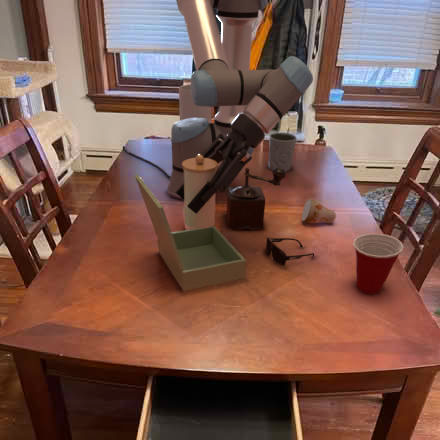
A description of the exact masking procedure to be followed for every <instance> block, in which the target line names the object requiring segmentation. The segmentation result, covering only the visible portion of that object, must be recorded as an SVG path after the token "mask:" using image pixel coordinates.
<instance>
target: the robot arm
mask: <svg viewBox="0 0 440 440" xmlns="http://www.w3.org/2000/svg"><path fill="white" fill-rule="evenodd" d="M267 1H268V0H175V2H176V6H177V9H178V11H179V13H180V15H182V16H183V19H184V24H185V27H186V31H187V36H188V41H189V45H190V49H191V52H192V58H193V62H194V67H195V71H193V72H192V74H191V78H190V85H191V93H192V100H193V102H194V104H195V105H197V106H208V107H211V108H214V107H219V109H218V110H219V111H218V112H217V113H216V114H215V115H214V119H213V121H214V122H211V123H209V122H208V120H207V119H205V118H198V117H195V118H187V119H183V120H180V119H179V120H177V121H176V122H174V123H173V125H172V126H171V130H170V131H171V133H170V135H171V136H170V142H171V160H172V161H171V166H172V167H171V168H172V170H171V174H169V173H168V172H167V171H165V169H163V168H162V167H160V166H159V165H158V164H156V163H154V162H152V161H150V160H148V159H146V158H144V157H142V156H140V155H137V154H135V153H133V152H130V151H129V150H127V148H126V145H123V146H122V149H123V150H124V152H125V153H127V155H128V154H129V155H130V156H132V157H135V158H137V159H139V160H141V161H143V162H145V163H148V164H150V165H151V166H152V167H153V166H154V167H155V168H156V169H158V170H159V171H160V172H162V173H163V174H164V175H165V176H166V177H167V178H168V179H169V182H168V184H167V194H168V195H169V196H170V197H172V198H173V199H176V200H180V201H184V169H183V168H182V162H183V161H185V160H187V159H191V158H196V156H197V155H202V156H203V157H204V158H208V159H212V160H215V161H216V162H217V163H218V164H219V166H218V168H217V169H216V173H215V175H214V177H213V178H212V180H211V182H209V181H207V183H206V185H205V186H204V187H203V188H202V189H201V190H200V191H199V193H198V194H197V195H196V196H195V197H194V198H193V200H192V201H191V202H190V203H189V204H188V205H187V207H188V208H189V209H191V210H192V211H193V212H194V213H196V214H197V213H198V212H199V210H200V209H201V208H202V207H203V206H204V205H205V204H206V202H208V201H209V199H210V198H211V197H212V196H213V195H214V194H215V193H216V194H217V193H219V192H220V193H222V194H224V193H225V192H226V191H227V190H228V187H231V184H232V183H233V182H234V181H235V179H236V178H237V177H238V176H239V174H240V172H241V171H242V170H243V169H244V167H245V166H246V165H247V164H248V163H250V161H252V160H253V156H252V154H253V153H254V150H255V149H257V148H258V146H259V145H260V144H261V143H262V142H263V141H264V139H266V135H268V134H270V132H271V131H272V129H274V128H275V127H276V125H277V124H278V123H279V121H281V120H282V119H283V117H284V116H285V115H286V114H287V113H288V112H289V110H290V109H292V108H293V106H294V105H295V104H296V103H297V102H298V101H299V99H300V98H301V97H302V96H303V95H305V94H306V91H307V90H308V89H309V88H310V86H311V85H312V83H313V81H314V76H313V73H312V71H311V69H309V67H308V65H306V63H304V62H303V61H302V60H301V59H300V58H298V57H297V56H294V55H290V56H288V57H287V58H286V59H285V60H284V61H283V62H282V63H280V65H279V66H278V68H277V69H270V68H269V69H250V66H251V54H252V53H251V52H252V51H251V50H252V35H253V24H254V23H255V22H256V21H257V20H258V19H259V11H262V10H264V9H265V7H266V5H267ZM214 10H216V14H215V11H214ZM216 19H218V20H219V21H220V22H221V34H220V30H219V26H218V22H217V20H216ZM265 134H266V135H265Z"/></svg>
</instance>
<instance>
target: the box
mask: <svg viewBox="0 0 440 440" xmlns="http://www.w3.org/2000/svg"><path fill="white" fill-rule="evenodd" d="M171 232H172V235H173V238H174V241H175V244H176V247H177V250H178V253H179V256H180V258H181V261H182V264H183V267H184V271H182V272H181V270H180V269H179V267H178V266H177V264H176V263H175V261H174V260H173V258H172V257H171V255H170V254H169V252H168V251H167V249H166V248H165V246H164V245H163V243H162V242H161V240H160V239H159V237H158V236H157V246H158V253H159V255H160V257H161V258H162V259H163V262H164V263H165V265H166V266H167V267H168V269H169V271H170V273H171V274H172V276H173V277H174V279H175V280H176V282H177V283H178V285H179V286H180V288H181V290H182V291H183V292H188V291H193V290H197V289H202V288H206V287H211V286H216V285H220V284H225V283H229V282H234V281H240V280H243V279H246V267H247V266H246V265H247V260H246V258H244V256H243V255H242V254H241V253H240V252H239V251H238V250H237V248H236V247H234V245H233V244H232V243H231V242H230V240H229V239H227V238H226V237H225V235H224V234H223V233H222V232H221V231H220V230H219V229H218V228H217V227H216V226H215V225H212V226H211V227H208V228H196V229H190V230H186V229H184V230H178V231H171Z"/></svg>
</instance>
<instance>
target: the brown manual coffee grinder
mask: <svg viewBox="0 0 440 440" xmlns="http://www.w3.org/2000/svg"><path fill="white" fill-rule="evenodd" d="M244 171H245V172H244V177H245V179H244V184H243V185H240V186H229V187H228V188H227V190H226V191H227V192H226V213H225V218H226V224H227V228H228V229H230V230H232V231H254V230H265V229H264V227H265V226H264V222H265V221H264V220H265V210H266V209H265V208H266V197H265V193H264V191H263V189H262V187H261V186H252V185H249V178H250V179H254V180H259V181H264V182H268V183H270V184H271V185H273V186H274V187H275V186H281V185H282V183H281V182H282V180H283V179H285V178H286V176H287V171H285V170H284V169H283V168H280V167H277V168H274V169H273V170H272V175H273V176H272V177H273V178H272V179H271V178H267V177H264V176H259V175H254V174H251V173H250V168H249V167H246V168H245V169H244Z"/></svg>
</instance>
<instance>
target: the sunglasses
mask: <svg viewBox="0 0 440 440" xmlns="http://www.w3.org/2000/svg"><path fill="white" fill-rule="evenodd" d="M283 241H294V242H297V243H298V244H299V247H300V248H301V249H303V247H304V246H303V244H302V243H301V241H300V240H298V239H297V238H291V237H290V238H289V237H275V238H273V237H268V236H267V237H266V245H265V246H266V253H267V256H271V255H272V261H274V262H276V263H277V264H280V265H282V266H285V265H286V263H287V261H292V260H293V261H294V260H300V259H302V258H303V257H309V256H312V258H315V253H314V252H311V253H308V254H299V255H298V254H297V255H296V254H295V255H286V252H285V251H284V250H283V249H281V248H280V247H279V246H277V244H275V243H281V242H283Z"/></svg>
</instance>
